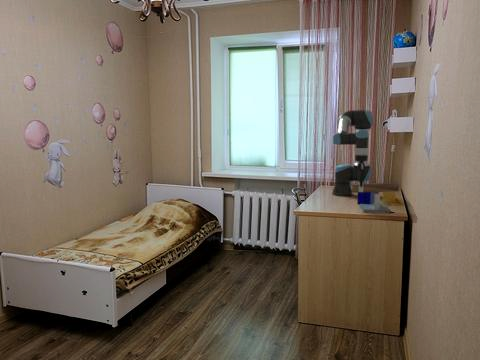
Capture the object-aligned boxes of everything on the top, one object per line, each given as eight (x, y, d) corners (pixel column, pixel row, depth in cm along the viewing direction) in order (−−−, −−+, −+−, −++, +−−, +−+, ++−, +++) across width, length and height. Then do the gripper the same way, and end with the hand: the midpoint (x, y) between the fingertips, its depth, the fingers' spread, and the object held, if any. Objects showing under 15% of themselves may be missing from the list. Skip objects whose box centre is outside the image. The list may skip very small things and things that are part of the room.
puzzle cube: (357, 204, 275) (357, 190, 274) (359, 201, 285) (359, 187, 283) (372, 205, 271) (373, 190, 270) (374, 202, 280) (374, 188, 279)
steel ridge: (370, 204, 268) (370, 189, 266) (374, 204, 267) (375, 189, 266) (374, 209, 250) (374, 194, 249) (379, 210, 250) (380, 194, 248)
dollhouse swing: (388, 205, 270) (388, 192, 269) (380, 203, 279) (381, 190, 278) (402, 205, 272) (403, 191, 270) (394, 202, 281) (395, 189, 280)
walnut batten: (352, 191, 261) (352, 184, 261) (397, 190, 256) (397, 182, 256) (352, 192, 258) (352, 185, 257) (398, 191, 253) (398, 183, 252)
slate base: (360, 206, 269) (360, 204, 269) (385, 206, 266) (385, 204, 266) (363, 212, 251) (363, 209, 251) (390, 212, 249) (390, 210, 249)
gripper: (354, 153, 264) (353, 189, 267) (356, 155, 248) (355, 193, 251) (365, 153, 263) (364, 189, 266) (369, 155, 247) (368, 193, 250)
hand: (360, 191), depth 259 cm, fingers closed on walnut batten, 3 cm apart
